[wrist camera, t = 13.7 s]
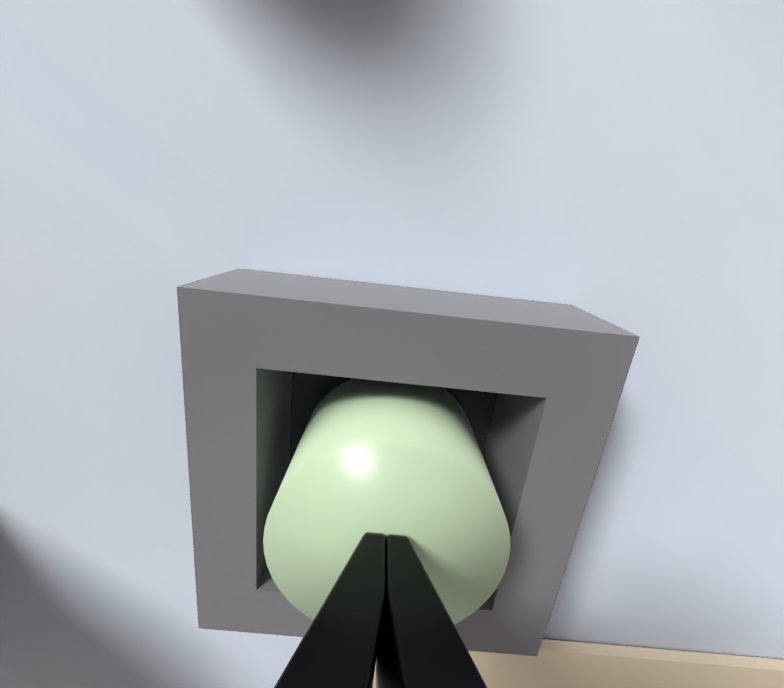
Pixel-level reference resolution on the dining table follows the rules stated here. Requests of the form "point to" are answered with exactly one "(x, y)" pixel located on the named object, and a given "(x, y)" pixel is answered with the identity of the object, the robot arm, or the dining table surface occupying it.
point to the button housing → (401, 365)
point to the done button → (388, 495)
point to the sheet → (623, 668)
